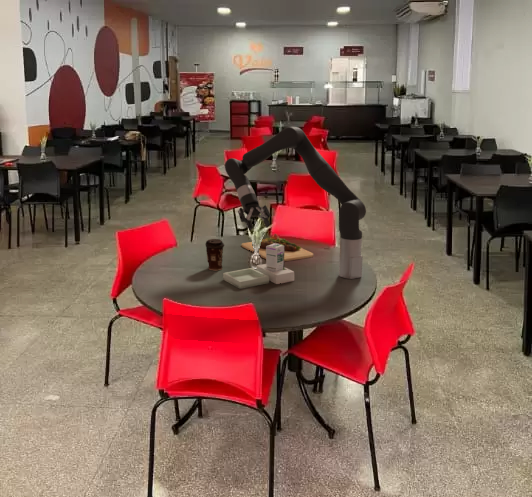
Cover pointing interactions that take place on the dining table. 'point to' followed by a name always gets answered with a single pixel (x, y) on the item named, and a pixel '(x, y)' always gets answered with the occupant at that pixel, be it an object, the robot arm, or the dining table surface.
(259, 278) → the tray
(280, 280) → the holder
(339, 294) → the dining table surface
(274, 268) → the syrup box
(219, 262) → the coffee cup
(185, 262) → the dining table surface
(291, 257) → the cutting board
